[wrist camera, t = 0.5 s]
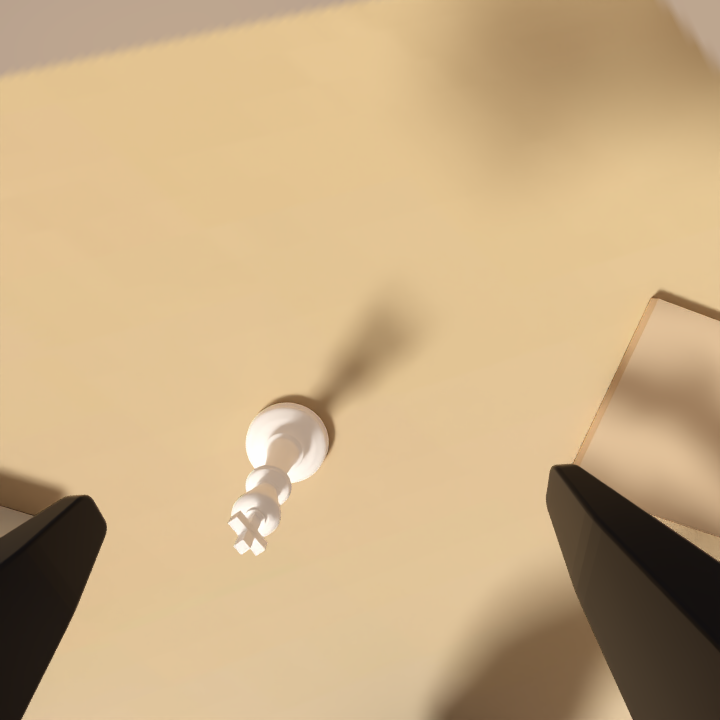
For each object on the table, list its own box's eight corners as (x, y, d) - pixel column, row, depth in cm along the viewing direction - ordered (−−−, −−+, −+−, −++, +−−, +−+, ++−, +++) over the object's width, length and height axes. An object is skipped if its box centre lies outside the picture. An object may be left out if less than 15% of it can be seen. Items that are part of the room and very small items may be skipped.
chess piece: (295, 386, 24) (252, 457, 14) (344, 449, 24) (337, 560, 15) (230, 433, 24) (144, 534, 14) (281, 493, 25) (232, 629, 15)
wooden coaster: (734, 539, 26) (743, 545, 25) (564, 482, 25) (569, 487, 24) (832, 365, 24) (844, 367, 23) (651, 298, 23) (658, 298, 22)
